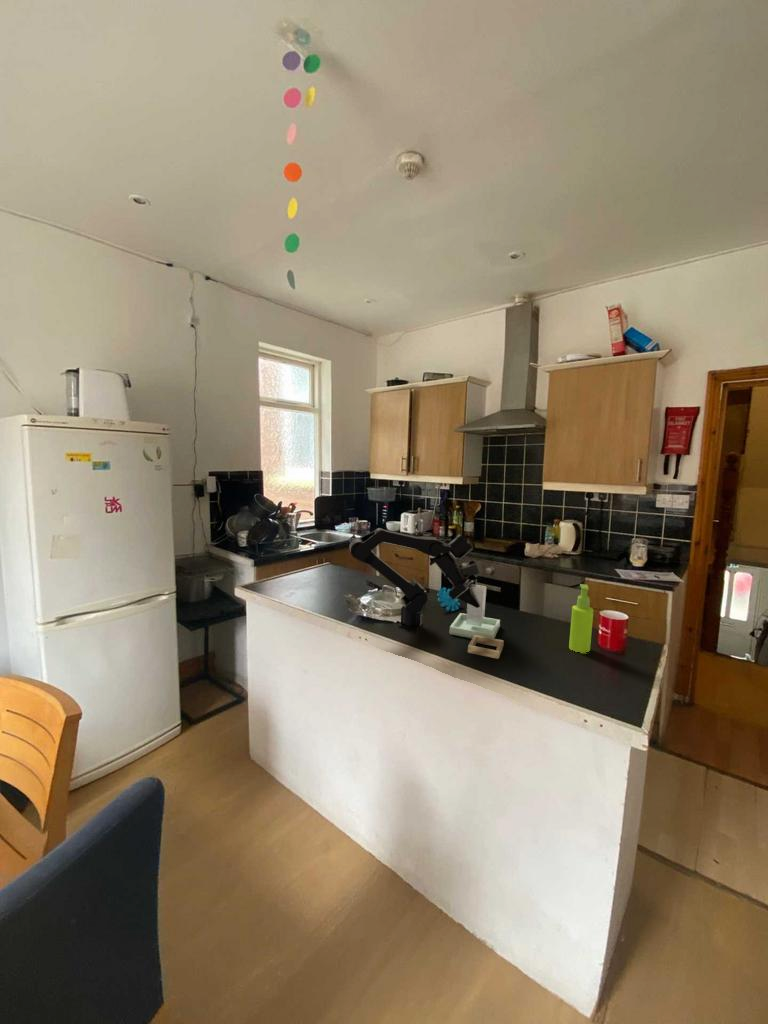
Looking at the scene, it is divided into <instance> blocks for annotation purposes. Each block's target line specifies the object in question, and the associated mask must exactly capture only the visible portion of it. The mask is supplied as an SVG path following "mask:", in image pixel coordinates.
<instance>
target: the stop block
mask: <svg viewBox="0 0 768 1024" xmlns="http://www.w3.org/2000/svg"><path fill="white" fill-rule="evenodd" d="M470 586H471V592H472V594H473V595H474V597H475V599H476V600H477V602H478V603H479V605H480V607H478V608H476V607H474V606H472V605H470V604H468V603H467V604H466V614H467V617H466V624H468V625H473V626H479V627H481V626H482V624H483V623H484V617H485V613H486V612H485V611H486V597H487V586H486V585H482V584H476V585H475V584H471V585H470ZM470 586H469V587H470Z"/></svg>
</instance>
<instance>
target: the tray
mask: <svg viewBox="0 0 768 1024" xmlns="http://www.w3.org/2000/svg"><path fill="white" fill-rule="evenodd" d="M466 617H467V613H461V612H459V614H458V615H457V617H456V618H455V619H454V620H453V622H452V623H451V625H450V626H449V635H451V636H452V635H453V636H457V637H462V638H468V639H472V638H473V637H474V635H477V636H483V637H488V638H493V639H496V636H497V633H498V632H499V630H500V627H501V619H497V618H491V617H486V616H484V623H483V624H482V626H481V627H479V626H473V625H468V624H466Z"/></svg>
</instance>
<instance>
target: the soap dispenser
mask: <svg viewBox="0 0 768 1024" xmlns="http://www.w3.org/2000/svg"><path fill="white" fill-rule="evenodd" d="M579 587H580V589H581V590H580V594H579V595H578V596H577V601H576V605H575V604H574V605H573V606H572V607H571V619H570V630H569V631H570V632H569V641H568V642H569V643H568V648H569V650H570V651H572V650H573V652H574V651H575V653H577V652H580V653H579V654H587V653H586V652H589V651H591V641H592V631H593V622H594V621H593V619H594V609H593V608H592V607H590V603H591V598H590V596H588V591H589V586H588V584H585V583H584V584H583V583H580V584H579ZM589 653H590V652H589Z"/></svg>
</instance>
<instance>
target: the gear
mask: <svg viewBox="0 0 768 1024" xmlns="http://www.w3.org/2000/svg"><path fill="white" fill-rule="evenodd" d="M451 589H452V588H448V589H447V587H442V588H440V589H439V590H438V593H437V594H436V596H437V597H438V598H437V601H438V602H440V607H442V608H443V607H445V606H446V607H445V610H446V611H448V612H449V611H450V612H453V611H454V612H455V611H457V610H459V606H460V605H461V603H460V602H459V601H460V599H456V598H455V599H453V600H452V599H451V598H450V596H449V591H450V590H451ZM454 612H453V613H454Z"/></svg>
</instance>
